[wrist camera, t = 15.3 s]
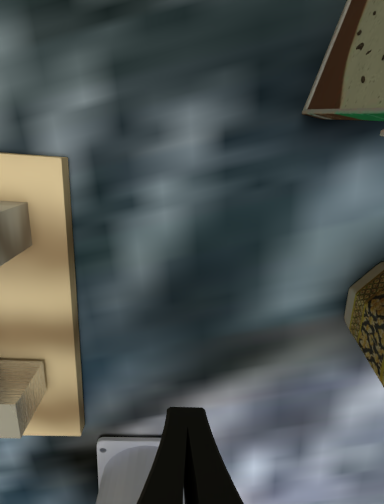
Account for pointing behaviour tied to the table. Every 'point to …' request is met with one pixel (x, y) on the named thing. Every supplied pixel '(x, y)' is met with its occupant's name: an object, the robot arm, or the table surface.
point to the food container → (352, 67)
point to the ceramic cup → (368, 317)
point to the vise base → (41, 286)
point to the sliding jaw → (19, 395)
